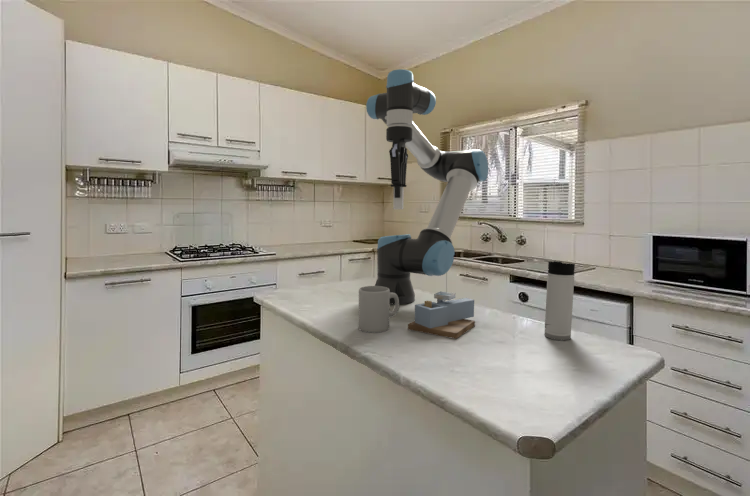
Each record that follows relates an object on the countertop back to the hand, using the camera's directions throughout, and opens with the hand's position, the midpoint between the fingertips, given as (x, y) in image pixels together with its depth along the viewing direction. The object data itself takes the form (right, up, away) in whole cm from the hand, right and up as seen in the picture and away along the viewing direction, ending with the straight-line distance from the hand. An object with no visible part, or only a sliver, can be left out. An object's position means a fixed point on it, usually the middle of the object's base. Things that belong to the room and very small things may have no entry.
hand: (398, 209), depth 121 cm
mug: (-6, -34, -7) cm, 35 cm away
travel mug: (+40, -35, -15) cm, 55 cm away
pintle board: (+12, -33, -7) cm, 36 cm away
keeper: (+13, -32, -4) cm, 34 cm away
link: (+13, -32, -6) cm, 35 cm away
